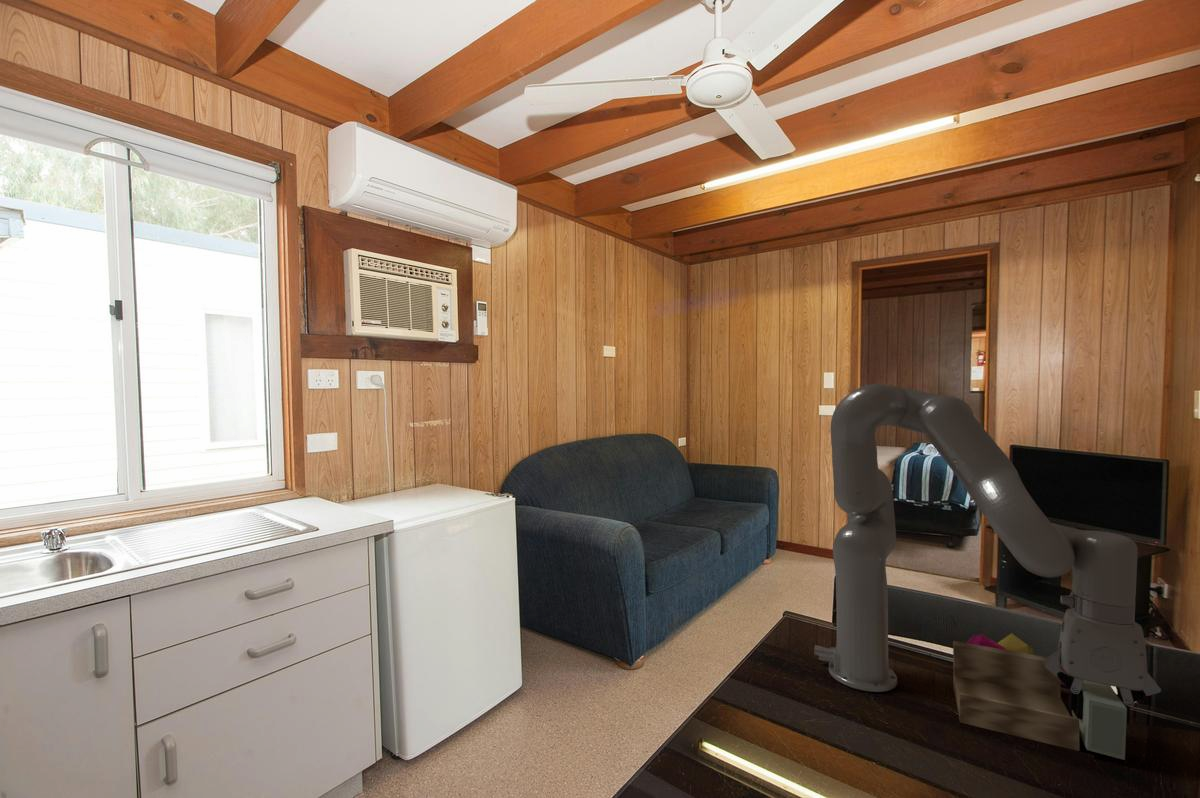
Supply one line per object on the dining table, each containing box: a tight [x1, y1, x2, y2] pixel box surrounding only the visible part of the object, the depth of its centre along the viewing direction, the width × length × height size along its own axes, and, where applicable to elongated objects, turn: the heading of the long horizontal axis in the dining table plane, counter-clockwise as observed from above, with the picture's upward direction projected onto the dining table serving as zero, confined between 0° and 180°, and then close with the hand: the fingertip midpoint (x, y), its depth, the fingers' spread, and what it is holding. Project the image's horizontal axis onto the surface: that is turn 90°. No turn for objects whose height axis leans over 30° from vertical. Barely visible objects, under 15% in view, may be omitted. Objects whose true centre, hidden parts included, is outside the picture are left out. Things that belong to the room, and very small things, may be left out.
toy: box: [966, 632, 1068, 686], centre depth 107 cm, size 10×18×10 cm
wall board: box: [952, 640, 1080, 752], centre depth 96 cm, size 16×14×9 cm
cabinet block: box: [1071, 680, 1127, 761], centre depth 88 cm, size 4×9×8 cm, turn 151°
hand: (1097, 718), depth 88 cm, fingers closed on cabinet block, 4 cm apart
